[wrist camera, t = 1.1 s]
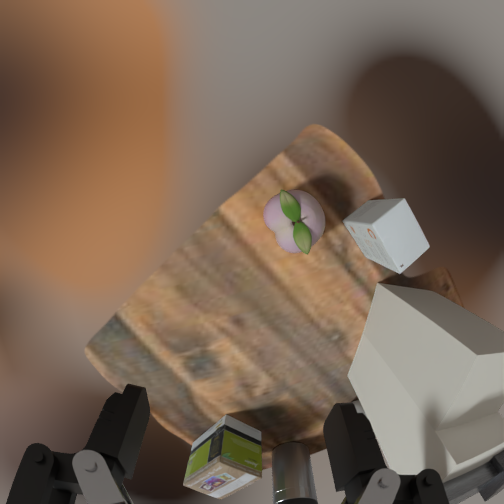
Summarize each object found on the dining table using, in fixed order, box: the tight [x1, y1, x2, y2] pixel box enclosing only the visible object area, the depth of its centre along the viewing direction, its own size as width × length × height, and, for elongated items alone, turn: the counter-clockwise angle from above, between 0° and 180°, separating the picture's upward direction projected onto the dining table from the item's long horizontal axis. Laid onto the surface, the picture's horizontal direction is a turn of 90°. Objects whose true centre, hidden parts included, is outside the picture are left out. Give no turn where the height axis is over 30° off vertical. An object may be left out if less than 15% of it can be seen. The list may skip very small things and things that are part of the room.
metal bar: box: [443, 450, 504, 504], centre depth 11 cm, size 24×5×5 cm, turn 81°
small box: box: [343, 198, 430, 274], centre depth 37 cm, size 8×6×13 cm
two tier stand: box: [347, 283, 504, 483], centre depth 30 cm, size 14×20×34 cm
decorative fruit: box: [264, 190, 325, 254], centre depth 39 cm, size 9×8×10 cm
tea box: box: [183, 414, 262, 499], centre depth 45 cm, size 15×10×15 cm, turn 143°
